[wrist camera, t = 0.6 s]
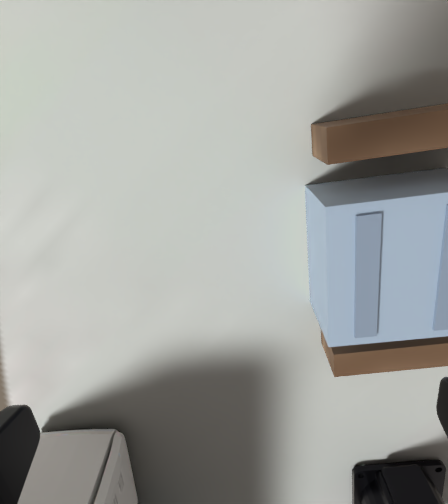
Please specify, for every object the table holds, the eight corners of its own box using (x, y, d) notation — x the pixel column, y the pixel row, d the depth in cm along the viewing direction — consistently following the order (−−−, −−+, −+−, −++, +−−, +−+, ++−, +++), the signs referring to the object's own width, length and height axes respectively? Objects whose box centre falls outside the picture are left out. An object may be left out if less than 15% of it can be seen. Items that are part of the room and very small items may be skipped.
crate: (429, 287, 21) (482, 335, 16) (309, 299, 21) (329, 349, 17) (442, 167, 18) (508, 186, 14) (304, 184, 18) (326, 208, 14)
